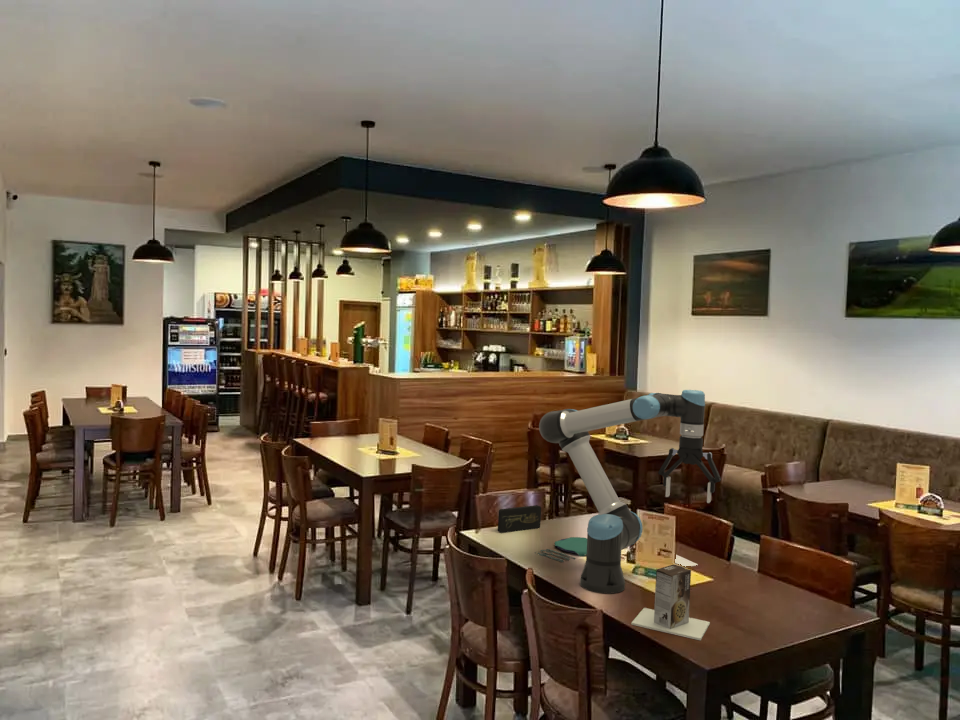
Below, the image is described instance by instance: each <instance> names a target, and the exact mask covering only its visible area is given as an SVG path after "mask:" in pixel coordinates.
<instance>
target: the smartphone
mask: <svg viewBox="0 0 960 720" xmlns="http://www.w3.org/2000/svg"><path fill="white" fill-rule="evenodd" d="M674 564H675V565H678V564H679V566H680V564H681V565H682V566H685V567H684V568H687V567H686V566H691V567H697V566H698V565H699V564H698V563H696V562H693V561H691V560H689V559H687V558H685V557H683V556H680V555H678V554H676V559H675V563H674ZM696 565H697V566H696Z"/></svg>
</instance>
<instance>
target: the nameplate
mask: <svg viewBox="0 0 960 720" xmlns="http://www.w3.org/2000/svg"><path fill="white" fill-rule="evenodd" d="M541 514H542V507H541V506H540V505H537V504H536V505H526V506H525V505H524V506H518V507H507V508H501V509H499V510H498V517H497V519H498V520H497V521H498V522H497V531H498V533H501V534H505V533H512V532H513V533H514V532H521V531H529V530H537V529H538V528H539V529H540V528H541V522H542V521H541V518H542V515H541Z"/></svg>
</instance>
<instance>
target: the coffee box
mask: <svg viewBox="0 0 960 720" xmlns="http://www.w3.org/2000/svg"><path fill="white" fill-rule="evenodd" d="M655 572H656V573H655V591H654V609H653V610H654V622H655V623H657V624H660V625H662V626H664V627H667V628H669V629H672V628H675V627H677V626H680V625H682V624H685V623H688V622H689V618H690V602H691V598H690V597H691V582H692V581H691V578H692V577H691V576H692V570H691V569H689V568H687V567H682V566H680V565H678V564H675V563H673V564H670V565H667V566H663V567H660V568H657V569H656V570H655Z"/></svg>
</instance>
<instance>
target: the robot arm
mask: <svg viewBox="0 0 960 720" xmlns="http://www.w3.org/2000/svg"><path fill="white" fill-rule="evenodd" d="M705 409H706V394H705V392H704V391H702V390H697V389H683V390H682V391H681V394H669V393H661V392H651V393H648V394H647V395H646V394H645V395H642V396H641V395H640V396H639V397H635V398H631V399H626V400H621V401H617V402H612V403H609V404H608V403H607V404H602V405H598V406H594V407H589V408H586V409H580V410H577V409H573V408H572V409H571V408H566V409H561V410H552V411H549V412H546V413H545V414H543V416H541V418H540V420H539V424H538V428H539V434H540V435H541V437H542V438H543V439H544V440H545V441H546V442H547V443H548V442H549V443H551V444H559V445H558V446H559V447H560V448H561V450H562V451H563V452H565V453H568V455H569V457H570V460H571V461H572V463H573V465H574V467H575V469H576V471H577V473H578V475H579V476H580V478H581V480H582V483H583V484H584V486H585V488H586V490H587V492H588V494H589V496H590V498H591V500H592V502H593V504H594V506H595V508H596V510H597V511H598V514H596V515H594V516H592V517H590V519H589V520H588V523H587V529H586V530H587V531H586V532H587V533H586V534H587V536H586V538H587V554H586V555H585V556H586V560H585V563H584V567H583V569H582V571H581V574H580V577H579V584H580V587H581V588H583V589H585V590H588V591H590V592H594V593H599V594H616V593H617V594H618V593H621V592H623V591H624V590H625V587H626V586H625V585H626V580H625V576H624V573H623V570H622V569H623V568H622V565H621V563H622V550H623V549H627V548H628V547H631V546H633V545H634V544H635V543H637V542H638V541H639V540H640V538H641V537H642V533H643V522H642V520H641V518H640V517H639V515H638V514H637V513H635V512H633V511H631V510H630V508H629V507H628V504H627V503H626V502H623V501H621V500H620V498H619V497H618V495H617V492H616V491H615V489H614V488H613V485H612V483H611V481H610V480H609V478H608V476H607V474H606V472H605V470H604V468H603V467H602V464H601V463H600V461H599V459H598V457H597V454H596V453H595V451H594V449H593V448H592V445H591V444H590V439H591V435H590V433H589V432H590V431H595V430H599V429H606V428H608V427H609V428H610V427H615V426H620V425H623V424H624V425H625V424H628V423H630V424H631V423H633V422H639V421H644V420H650V419H655V418H660V417H675V418H680V421H679V422H680V423H679V424H680V425H679V435H680V436H679V440H678V441H679V444H678V449H675V448H673V447H671V448H669V450H668V454H667V456H666V458H665V460H664V462H663V464H662V465H661V467H660V469H659V471H658V472H657V473H658V475H660V476H662V477H663V480H662V481H663V483H662V486H663V487H665V498H669V497H670V495H671V494H670V493H671V479H672V478H671V476H669V475H670V474H671V473H672V472H673V471H675V470H676V469H677V468H678V467H679V466H680V465H681V464H682V463H683V464H685V465H687V464H689V465H692V466H693V465H696V466H698V467H699V469H700V470H701V472H703V475H704V476H705V477H706V478H707V480H708V481H709V482H707V494H706V495H707V496H706V503H707V504H710V503H711V501H712V494H714V492H715V489H716V483H720V482H721V480H722V478H721V476H720V473H719V471H718V468H717V466H716V464H715V462H714V460H713V453H712V452H710V451H709V452H704V451H703V443H704V438H703V436H704V427H705V424H704V421H705V411H706V410H705ZM676 454H677V456H678V457H679V458H678V459H677V460H676V461H675V463H673V465H671V466H670V467H669V469H668V470H667V471H665V470H666V469H667V467H668V465H669V464H670V462H671V460H672V459H673V457H674V456H675V455H676ZM703 457H704V459H705V460H707V463H708V465H709V468H710V470H711V472H712V473H711V472H710V471H709V469H708V468H707V467H706V465H705V464H704V462H703V460H702V458H703Z"/></svg>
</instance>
